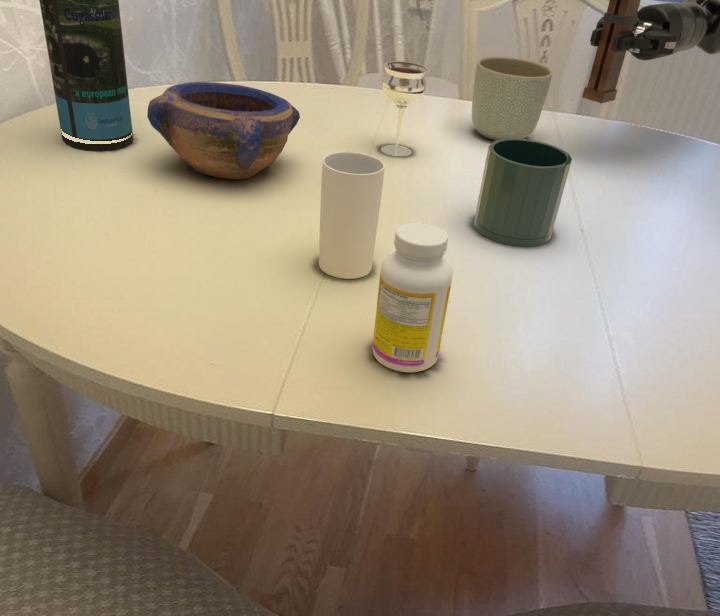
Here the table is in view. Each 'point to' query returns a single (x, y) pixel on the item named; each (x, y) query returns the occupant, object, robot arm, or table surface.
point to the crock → (521, 191)
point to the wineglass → (402, 94)
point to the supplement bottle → (412, 299)
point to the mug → (349, 213)
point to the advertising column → (88, 71)
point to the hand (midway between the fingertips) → (604, 40)
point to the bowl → (223, 126)
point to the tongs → (610, 51)
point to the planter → (508, 96)
